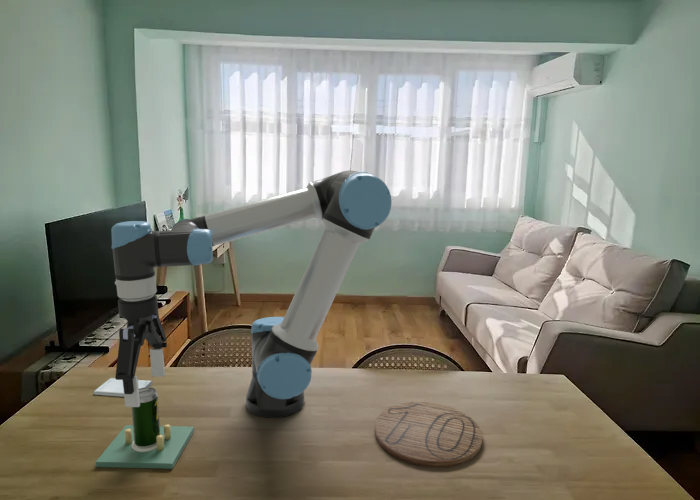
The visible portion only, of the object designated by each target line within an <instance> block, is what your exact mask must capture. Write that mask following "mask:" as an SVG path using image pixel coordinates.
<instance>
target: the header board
mask: <svg viewBox="0 0 700 500" xmlns="http://www.w3.org/2000/svg"><path fill="white" fill-rule="evenodd" d="M194 432H195V426H184V425H183V426H181V425H180V426H179V425H171V424H165V425H160V435H158V436H157V437H156V440H157V445H155V446H153V447H151V448H147V449H141V448H138V447H137V446H136V445H135V443H134V430H133V424H126V425H125V426H124V427H123V428H122V430H120V432H119V433H118V434H117V436H115V438H114V439H113V440H112V442H111V443H110V444H109V445H108V446H107V447H106V449H105V450H104V451H102V452H103V453H102V454H101V455H100V456H99V457H98V458H97V460H95V467H96V468H121V469H122V468H124V469H126V468H130V469H132V468H133V469H165V470H166V469H168V470H169V469H170V470H172V469H174V467H175V466H176V464H177V462H178V460H179V458H180V456H181V455H182V453H183V451H184V449H185V448H186V446H187V445H188V443H189V441H190V439H191V437H192V436H193V434H194Z"/></svg>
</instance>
